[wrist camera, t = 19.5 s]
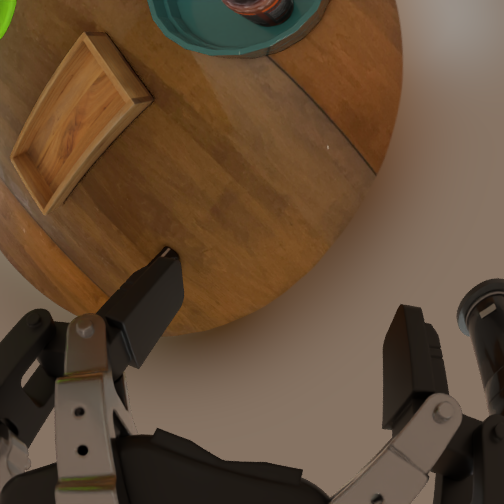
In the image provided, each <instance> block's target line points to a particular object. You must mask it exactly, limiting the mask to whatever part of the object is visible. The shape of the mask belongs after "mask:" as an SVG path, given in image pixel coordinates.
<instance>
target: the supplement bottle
mask: <svg viewBox="0 0 504 504" xmlns="http://www.w3.org/2000/svg"><path fill="white" fill-rule="evenodd" d="M222 2H223V3H224V4H225V5H226V6H227V7H228V8H229V9H231V10H233V11H234V12H236V13H238V14H239V15H241V16H243V17H244V18H246V19H248V20H250V21H251V22H253V23H255V24H258V25H261V26H275V25H279V24H281V23H283V22H284V21H285V20H287V19H288V18H289V16H290V15H291V13H292V11H293V0H222Z"/></svg>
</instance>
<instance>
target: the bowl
mask: <svg viewBox="0 0 504 504" xmlns="http://www.w3.org/2000/svg"><path fill="white" fill-rule="evenodd" d="M147 1H148V5H149V8H150V12H151V15H152V18H153V20H154V22H155V23H156V24H157V25H158V27H159V28H160V29H161V31H162V32H163V33H164V35H165V36H166V37H168V38H169V39H171V40H172V41H174V42H175V43H177V44H179V45H180V46H182V47H183V48H185V49H187V50H191V51H195V52H199V53H203V54H207V55H210V56H217V57H223V58H257V57H261V56H264V55H268V54H272V53H276V52H279V51H282V50H283V49H285V48H287V47H289V46H290V45H292V44H294V43H296V42H298V41H299V40H301V39H303V38H304V37H305V36H306V35H307V34H308V33H309V32H310V31H311V29H312V28H313V27H314V26H315V25H316V24H317V23H318V22H319V21H320V20H321V18H322V15H323V13H324V11H325V9H326V7H327V4H328V2H329V0H293V11H292V13H291V15H290V16H289V18H288V19H287V20H285V21H284V22H283V23H281V24H279V25H275V26H261V25H258V24H255V23H253V22H251V21H250V20H248V19H246V18H244V17H243V16H241V15H239V14H238V13H236V12H234V11H233V10H231V9H229V8H228V7H227V6H226V5H225V4H224V3H223V2H222V0H147Z"/></svg>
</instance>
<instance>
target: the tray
mask: <svg viewBox="0 0 504 504" xmlns="http://www.w3.org/2000/svg"><path fill="white" fill-rule="evenodd" d="M153 101H154V99H153V97H152V96H151V95H150V93H149V92H148V91H147V89H146V88H145V86H144V85H143V84H142V82H141V81H140V79H139V78H138V77H137V75H136V74H135V72H134V71H133V70H132V68H131V67H130V66H129V64H128V63H127V61H126V60H125V59H124V57H123V56H122V55H121V53H120V52H119V51H118V49H117V48H116V46H115V45H114V44H113V42H112V41H111V40H110V38H109V37H108V35H107V34H106V33H102V32H83V34H82V35H81V36H80V37H79V39H78V40H77V41H76V43H75V44H74V45H73V47H72V48H71V49H70V51H69V52H68V54H67V55H66V56H65V58H64V59H63V61H62V62H61V64H60V65H59V67H58V68H57V70H56V71H55V73H54V74H53V76H52V78H51V79H50V81H49V82H48V84H47V86H46V87H45V89H44V91H43V92H42V94H41V96H40V97H39V99H38V101H37V103H36V104H35V106H34V108H33V110H32V112H31V113H30V115H29V117H28V119H27V121H26V123H25V125H24V127H23V129H22V131H21V133H20V135H19V137H18V139H17V142H16V144H15V146H14V148H13V150H12V153H11V155H10V159H11V161H12V163H13V165H14V167H15V169H16V170H17V172H18V174H19V176H20V177H21V179H22V181H23V183H24V184H25V186H26V188H27V189H28V191H29V193H30V194H31V196H32V197H33V199H34V201H35V202H36V204H37V205H38V207H39V208H40V210H41V212H42V213H43V215H44V216H45V215H47V214H49V213H50V212H52V211H53V210H55V209H57V208H58V207H59V206H61V205H62V203H63V202H64V201H65V199H66V198H67V197H68V195H69V194H70V192H71V191H72V190H73V189H74V187H75V186H76V185H77V183H78V182H79V181H80V180H81V178H82V177H83V176H84V175H85V173H86V172H87V171H88V170H89V168H90V167H91V166H92V165H93V164H94V163H95V161H96V160H97V159H98V158H99V157H100V156H101V154H102V153H103V152H104V151H105V150H106V149H107V148H108V147H109V145H110V144H111V143H112V142H113V141H114V140H115V139H116V138H117V137H118V136H119V135H120V134H121V133H122V131H123V130H124V129H125V128H126V127H127V126H128V125H129V124H130V123H131V122H132V121H133V120H134V119H135V118H136V117H137V116H138V115H139V114H140V113H141V112H142V111H143V110H144V109H145V108H146V107H147V106H148V105H149V104H151V103H152V102H153Z"/></svg>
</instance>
